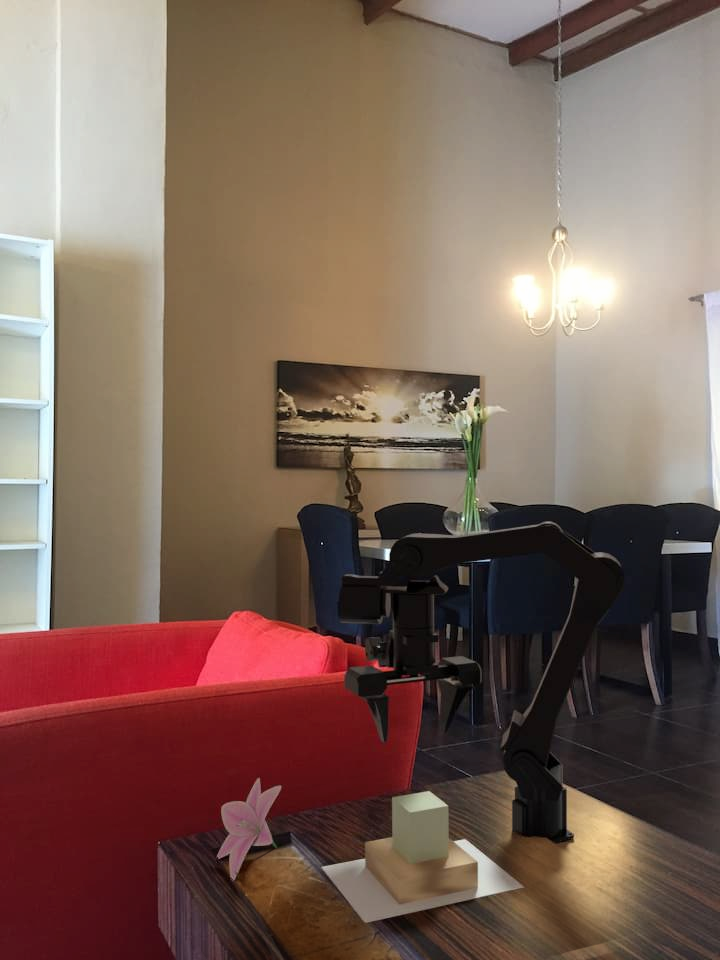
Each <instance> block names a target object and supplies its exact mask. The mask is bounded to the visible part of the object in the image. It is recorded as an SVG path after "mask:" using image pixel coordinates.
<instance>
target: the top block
mask: <svg viewBox="0 0 720 960" xmlns="http://www.w3.org/2000/svg"><path fill="white" fill-rule="evenodd" d="M391 811H392V812H391V821H392V824H391V828H392V830H391V832H392V833H391V834H392V836H391V837H392V847H393V848H394V849H395V850H396V851H397V852H398V853H399V854H401V855H402V856H403V857H404V858H405V859H406V860H407V861H408V862H409V863H410V864H413V863H418V862H423V861H428V860H433V859H438V858H443V857H448V856H449V838H450V837H449V834H450V833H449V805H448V804H446V802H445V801H443V800H441V799H440V798H439V797H438V796H436V795H435V794H434V793H432V792H431V791H430V790H427V791H421V792H417V793H416V792H415V793H411V794H410V793H409V794H404V795H397V796H392V797H391Z"/></svg>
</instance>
